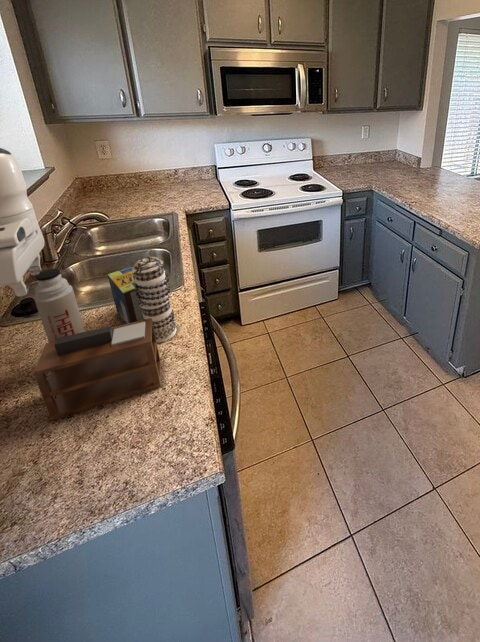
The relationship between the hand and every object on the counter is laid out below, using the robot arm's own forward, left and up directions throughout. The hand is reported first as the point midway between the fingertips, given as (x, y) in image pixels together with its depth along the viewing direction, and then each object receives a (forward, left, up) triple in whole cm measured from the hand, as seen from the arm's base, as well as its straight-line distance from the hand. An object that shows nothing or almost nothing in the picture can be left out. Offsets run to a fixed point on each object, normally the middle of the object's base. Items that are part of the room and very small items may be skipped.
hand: (30, 283), depth 78 cm
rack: (+10, -3, -31) cm, 33 cm away
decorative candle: (+22, +14, -31) cm, 41 cm away
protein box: (+16, +25, -31) cm, 43 cm away
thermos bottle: (0, +11, -31) cm, 33 cm away
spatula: (+10, -3, -17) cm, 20 cm away
